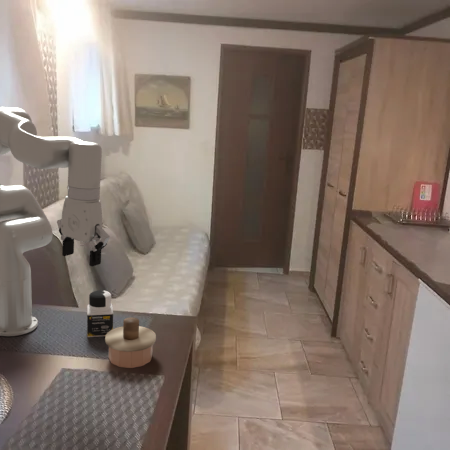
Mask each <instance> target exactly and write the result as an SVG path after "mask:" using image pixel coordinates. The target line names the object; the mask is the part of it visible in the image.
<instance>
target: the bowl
mask: <svg viewBox="0 0 450 450" xmlns="http://www.w3.org/2000/svg"><path fill="white" fill-rule="evenodd" d="M153 349H154V344H153V345H152V346H151V347H149V348H147V349H144V350H140V351H132V352H126V351H119V350H115V349H112V348H111V347H109V346H108V360H109V361H110V363H111V364H112V365H114V366H117V367H119V368H127V369H133V368H139V367H144V366H145V365H147V364H148V363H150V362H151V360H152V359H153V351H154V350H153Z"/></svg>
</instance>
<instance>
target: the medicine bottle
mask: <svg viewBox="0 0 450 450" xmlns="http://www.w3.org/2000/svg"><path fill="white" fill-rule="evenodd" d="M88 300H89V301H88V303H89V304H87V308H86V309H87V310H86V311H87V312H86V313H87V314H86V336H87V338H94V337H95V338H96V337H106V334H107V333H108V332H109V331H111V330H113V329H114V308H113V304H112V293H110V292H109V291H107V290H104V289H103V290H102V289H98V290H94V291H92V292H90V294H89V297H88Z"/></svg>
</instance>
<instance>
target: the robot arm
mask: <svg viewBox="0 0 450 450" xmlns="http://www.w3.org/2000/svg"><path fill="white" fill-rule="evenodd" d="M37 134H38V132H37V127H36V125H35V124H34V122H33V120H32V118H31V116H30V115H29V113H28V112H27V111H26V110H24V109H22V108H20V107H15V106H14V107H12V106H11V107H10V106H0V156H4V155H6V154H8V153H9V152H11V154H12V156H13V158H15V159H16V160H17V161H18V162H20V163H23V164H24V165H27V166H29V167H31V168H34V169H38V170H50V169H59V168H60V169H63V168H64V169H65V168H67V169H68V170H67V187H66V188H67V195H66V196H65V198H64V201H63V206H62V210H61V211H62V213H61V218H60V219H58V220H57V221H56V223H57V226H58V232H59V235H60V239H61V240H62V246H61V247H62V248H61V249H62V250H61V251H62V252H61V253H62V254H61V255H62V256H63V257H67V256H71V255H73V254H74V253H75V251H74V250H75V240H76V241H79V242H82V243H88V244H89V246H90V248H91V250H90V251H89V262H88V264H89V266H90V267H95V266H99V265H101V263H102V250H104V248H105V247H106V246H107V245H108V242H109V240H110V235H109V233H108V232H107V231H105V229H104V228H103V212H102V211H103V209H102V208H103V207H102V202H101V199H100V197H101V195H100V194H101V177H102V176H101V175H102V156H103V155H102V154H103V151H102V146H101V144H99V143H98V142H93V141H84V140H82V139H80V138H77V137H74V136H39V135H37ZM53 234H54V233H53V227H52V224H51V223H50V220H49V219H48V217H47V215H46V214H45V212H44V211H43V208H42V206H41V205H40V203H39V201H38V200H37V198H36V197H35V195H34V193H33V191H31V190H30V189H29V188H28V187H26V186H24V185H22V184H9V185H8V184H7V185H2V184H1V183H0V336H1V337H16V336H22V335H26V334H28V333H31V332H33V331H34V330H35V329H36V328H37V327H38V326H39V325H38V324H39V323H38V322H39V320H38V319H37V317H35V316H33V308H32V305H33V304H32V303H33V302H32V299H33V298H32V271H31V270H32V269H31V265H30V263H29V262H28V260H27V259H26V257H25V256H24V253H25V252H28V251H32V250H36V249H39V248H42V247H45V246H47V245H49V244H50V243H51V242H52V239H53Z"/></svg>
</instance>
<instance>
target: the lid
mask: <svg viewBox="0 0 450 450" xmlns="http://www.w3.org/2000/svg"><path fill="white" fill-rule="evenodd" d="M122 323H123V326H118V327H115V328H113V330H111V331H109V332H108V333H107V334H106V336H104V337H105V338H104V341H105V345H106V346H107V347H108V348H109V347H111V348H112V349H115V350H119V351H126V352H132V351H140V350H144V349H147V348H149V347H151V346H152V345H153V346H154V345H155V343H156V340H157V335H156V334H157V333H156V332H154V331H153V330H152V329H151V328H148V327H144V326H142V325H141V326H140V319H139V318H137V317H126V318H124V319H123V322H122Z"/></svg>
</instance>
